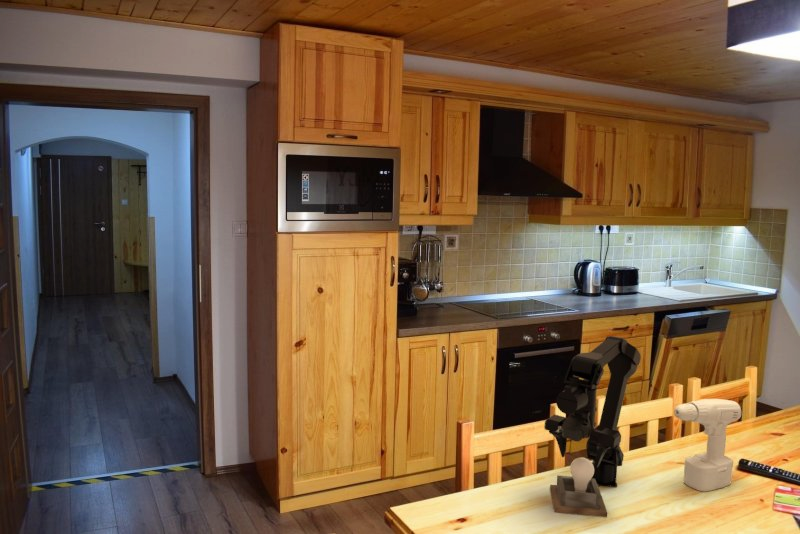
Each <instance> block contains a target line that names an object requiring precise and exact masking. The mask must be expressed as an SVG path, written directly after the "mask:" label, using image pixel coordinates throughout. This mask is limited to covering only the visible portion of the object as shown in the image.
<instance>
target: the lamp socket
mask: <svg viewBox="0 0 800 534" xmlns="http://www.w3.org/2000/svg"><path fill="white" fill-rule="evenodd" d="M549 491H550V495H551V500H552V501H551V502H552V506H553V511H554V513H559V514H570V515H578V516H579V515H580V516H590V517H591V516H592V517H600V518H607V517H608V511H607V510H608V509H607V508H606V505H605V502H604V499H603V497H602V494H601V490H600V488H599V485H597V483H596V480H595V479H594V478H591V480H590V481H589V482H588V485H587V489H586V491H585V493H583V492H575V487H574V479H573V477H572V476H570V475H569V476H568V475H560V474H559V475H556V484H550V485H549Z"/></svg>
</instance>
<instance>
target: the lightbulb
mask: <svg viewBox="0 0 800 534" xmlns="http://www.w3.org/2000/svg"><path fill="white" fill-rule="evenodd" d="M591 462H592V461H591V460H590V459H588V458H586V457H584V456H583V457H577V458H574V459H573V461H572V462H571V463H570V467H569V471H570V474H571V477H573V479H574V487H575V492H583V493H585V491H586V489H587V485H588V482H589V481H590V480H591V478H592V477H593V475H594V466H593V464H592V463H591Z"/></svg>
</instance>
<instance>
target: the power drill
mask: <svg viewBox="0 0 800 534" xmlns="http://www.w3.org/2000/svg"><path fill="white" fill-rule="evenodd" d="M673 414H674V416H675V417H676V418H677V419H679V420H681V421H685V422H686V421H688V422H691V423H698V424H700V425H702V426H703V427H704V430H703V434H704V435H707V442H706V452H702V453H697V454H694V455H691V456H687V457H685V459H684V469H683V471H684V472H683V483H684V484H685V485H687V486H688V487H690V488H692V489H694V490H697V491H698V492H699V491H700V492H710V491H715V490H718V489H722V488H725V487H728V486H730V485H731V482H732V475H733V467H734V459H732V458H730V457H728V456H726V455H725V451H726V445H727V444H726V442H727V428H728V425H730V424H732V423H734V422H736V421H738V420H739V419H740V418H741V416H742V409H741V405H740V404H739V403H738V402H736V400H735V401H734V400H730V399H723V398H722V399H721V398H703V399H698V400H693V401H689V402H687V403H680V404H678V405H676V406H675V408H674V409H673Z"/></svg>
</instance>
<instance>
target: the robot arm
mask: <svg viewBox="0 0 800 534" xmlns="http://www.w3.org/2000/svg"><path fill="white" fill-rule="evenodd" d="M640 363H641V353H640V351H639V350H638V348H637V347H636V346H635V345H632V344H631V343H629V342H628V341H627V339H625V338H623V337H619V336H614V335H608V336H606V337H605V339H604V341H603V342H602V343H600V344H599V345H597V346H596V347H594V349H592V350H591V351H589V352H582V353H578V354H576V355H574V357H572V359H571V361H570V362H569V366H568V368H567V371H566V374H565V377H564V379H563V384H567V385H565V386H564V388H563V389H564V390H563V391H560V392H559V393H558V395H557V396H556V399H555V404H556V406H557V408H558V410H559V411H560V412H561V413H563V414H564V415H568V416H567V417H566V416H562V415H558V414H553V415H551V416H550V417H548V418H546V419H545V421H544V427H543V428H544V430H545V431H548V432H549V434H550V435H552V436H553V437H554V438H555V440H556V443H557V445H558V449H559V452H560V456H561V458H565V456H566V454H567V453H566V451H567V441H568V440H572V441H574V442H578V443H579V442H580V441H581V440H582V439H583V438H586V439H587V441H586V455H587V459H588V460H592V461H591V463H592V464H593V466H594V475H593V477H592V478H594V479H595V480H596V483H597V486H602V487H603V486H604V487H613V488H614V487H615V488H617V487H618V484H617V475H618V474H617V473H618V472H617V471H618V467H622V466H623V461H624V457H625V454H624V453H623V449H621V446H620V444H621V442H622V434H621V432H620V431H619V430H617V428H618V425H619V424H618V423H619V419H620V415H621V410H622V407H623V406H622V405H623V403H624V398H625V394H626V390H627V384H628V381H629V379H630V378H631V377H632V376H633V375H634V374H635V373H636V372H637V368H638V366H639V364H640ZM606 365H607V367H608V370H609V372H610V377H609V381H608V386H607V389H606V394H605V399H604V403H603V407H602V411H601V416H600V419H599V420H600V421H599V424H598V425H597V426H596V424H597V423H596V422H595V416H596V412H597V410H598V407H596V405H597V403H596V401H597V389H598V388H597V387H598V386H599V385H600V382H601V379H602V377H603V374H604V371H605V370H604V367H605V366H606Z"/></svg>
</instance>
